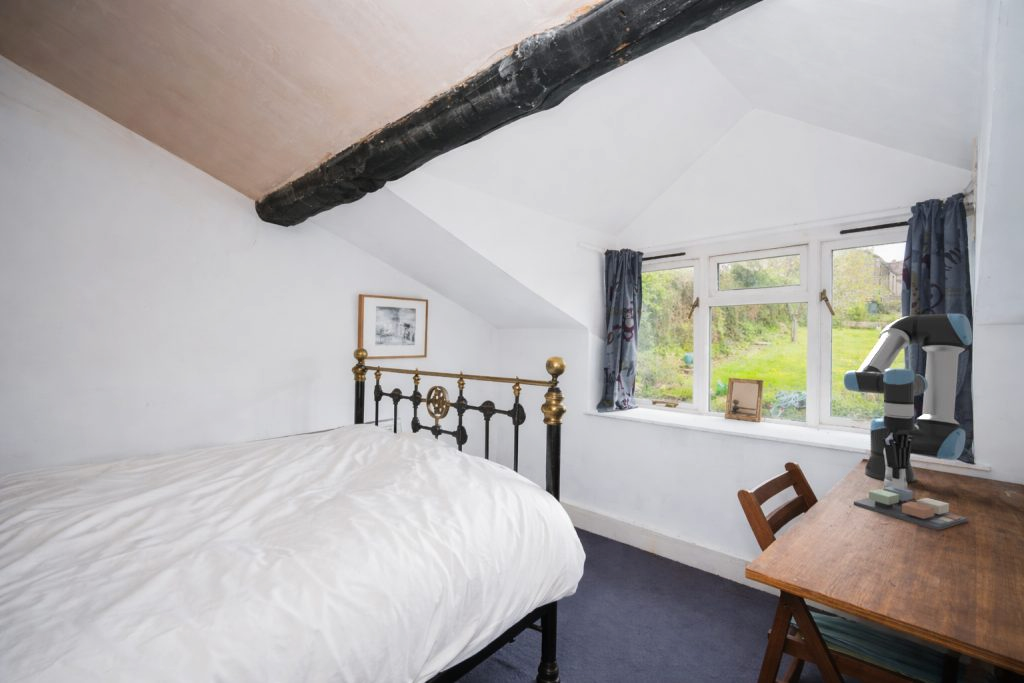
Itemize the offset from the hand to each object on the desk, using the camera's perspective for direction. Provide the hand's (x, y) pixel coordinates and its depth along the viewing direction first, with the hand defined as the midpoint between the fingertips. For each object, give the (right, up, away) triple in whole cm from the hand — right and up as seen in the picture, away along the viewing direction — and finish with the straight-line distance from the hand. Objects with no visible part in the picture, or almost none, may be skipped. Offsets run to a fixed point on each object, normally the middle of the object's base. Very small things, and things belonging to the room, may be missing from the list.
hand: (898, 488), depth 148 cm
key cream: (+4, -4, -8) cm, 10 cm away
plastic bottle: (+9, -6, +11) cm, 16 cm away
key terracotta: (-4, -4, -11) cm, 13 cm away
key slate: (0, -3, 0) cm, 3 cm away
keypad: (-2, -6, -6) cm, 8 cm away
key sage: (-7, -3, -3) cm, 8 cm away
